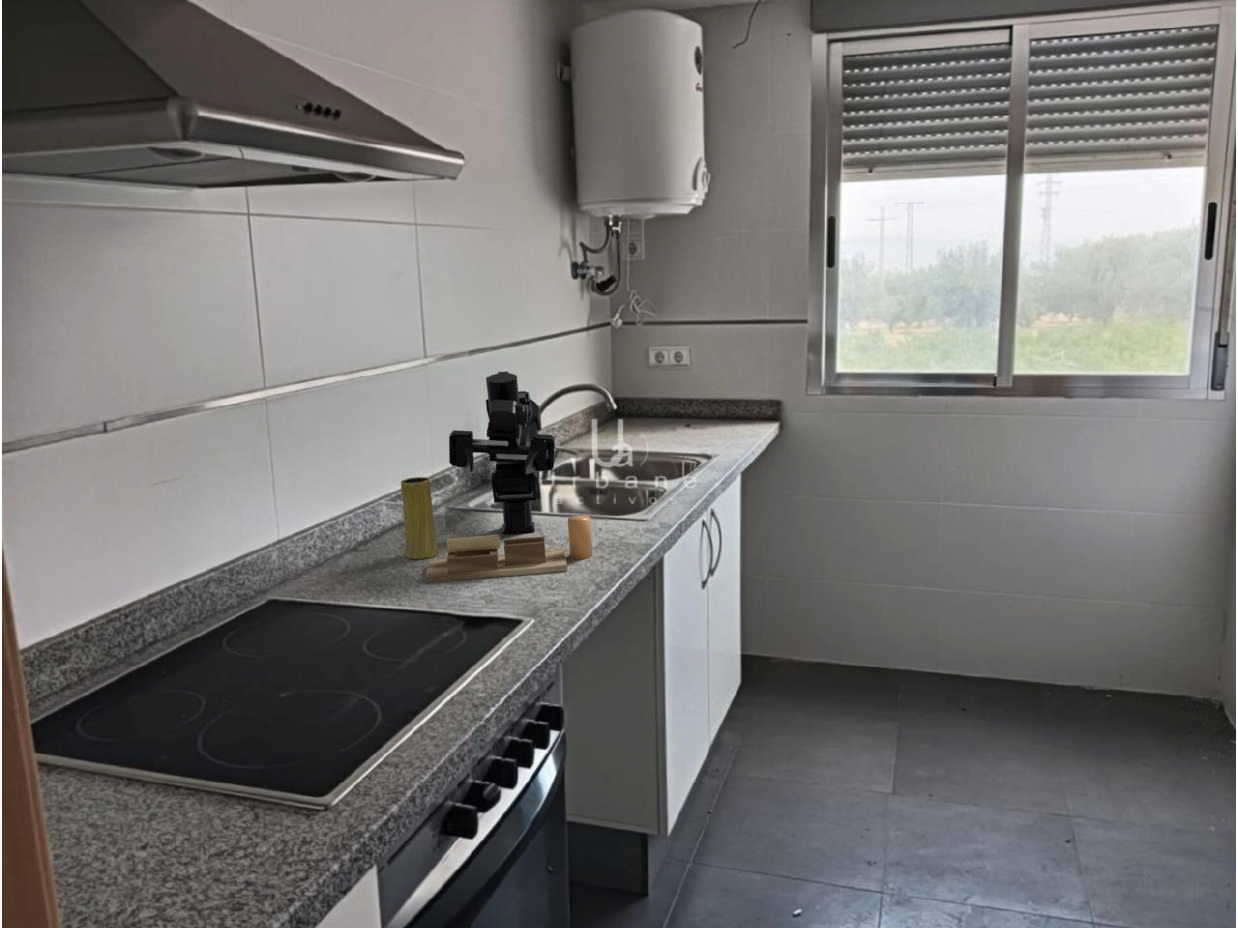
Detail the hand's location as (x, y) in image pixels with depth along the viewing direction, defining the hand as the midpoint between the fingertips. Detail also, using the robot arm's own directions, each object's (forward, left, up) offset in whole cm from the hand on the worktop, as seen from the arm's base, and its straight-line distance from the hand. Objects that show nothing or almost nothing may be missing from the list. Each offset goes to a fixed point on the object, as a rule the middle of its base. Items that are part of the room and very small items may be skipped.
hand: (498, 470), depth 170 cm
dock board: (0, -2, -17) cm, 18 cm away
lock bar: (0, -5, -14) cm, 15 cm away
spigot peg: (-4, +13, -18) cm, 22 cm away
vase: (-13, -16, -18) cm, 27 cm away
